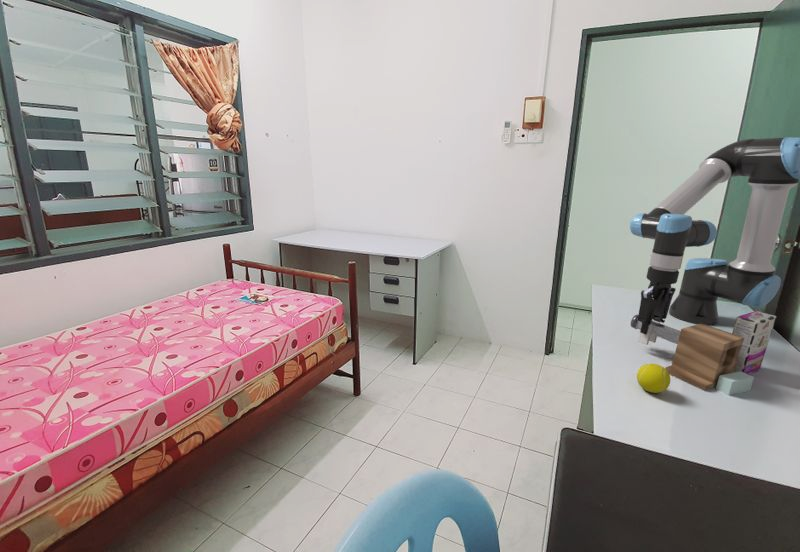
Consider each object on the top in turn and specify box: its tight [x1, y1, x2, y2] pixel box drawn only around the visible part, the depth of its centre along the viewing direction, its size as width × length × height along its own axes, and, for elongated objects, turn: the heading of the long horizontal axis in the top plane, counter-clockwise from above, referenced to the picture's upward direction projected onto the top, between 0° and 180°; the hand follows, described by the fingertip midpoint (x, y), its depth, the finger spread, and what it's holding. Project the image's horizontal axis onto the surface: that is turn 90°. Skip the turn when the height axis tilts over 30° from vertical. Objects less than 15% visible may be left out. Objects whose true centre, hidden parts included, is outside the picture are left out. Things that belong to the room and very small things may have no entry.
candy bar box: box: [732, 310, 777, 375], centre depth 107 cm, size 11×5×16 cm, turn 117°
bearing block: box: [664, 323, 744, 391], centre depth 104 cm, size 16×10×12 cm, turn 117°
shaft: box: [630, 314, 681, 345], centre depth 112 cm, size 4×21×4 cm, turn 27°
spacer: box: [715, 372, 755, 396], centre depth 99 cm, size 8×4×3 cm
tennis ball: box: [636, 362, 671, 394], centre depth 96 cm, size 7×7×7 cm
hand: (646, 341), depth 118 cm, fingers closed on shaft, 3 cm apart
